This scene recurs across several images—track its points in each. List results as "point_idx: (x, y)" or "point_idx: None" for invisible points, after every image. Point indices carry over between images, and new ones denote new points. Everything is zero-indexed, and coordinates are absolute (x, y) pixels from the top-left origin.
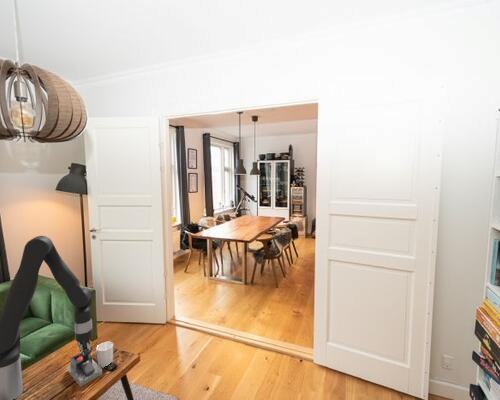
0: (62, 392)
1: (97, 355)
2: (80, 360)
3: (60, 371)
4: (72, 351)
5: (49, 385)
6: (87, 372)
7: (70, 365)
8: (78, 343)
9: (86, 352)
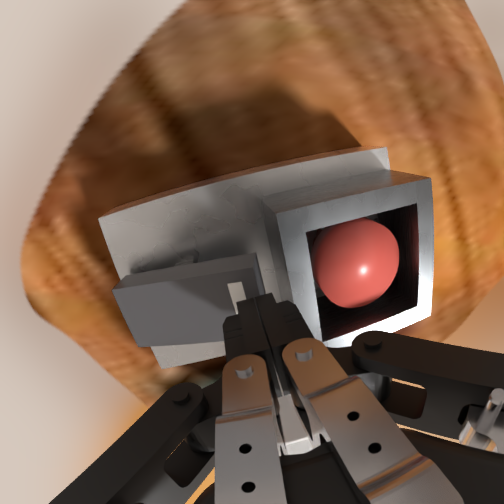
0: (132, 92)
1: (283, 395)
2: (337, 258)
3: (391, 108)
4: (499, 208)
5: (281, 24)
6: (118, 293)
7: (377, 167)
8: (496, 379)
9: (83, 477)
